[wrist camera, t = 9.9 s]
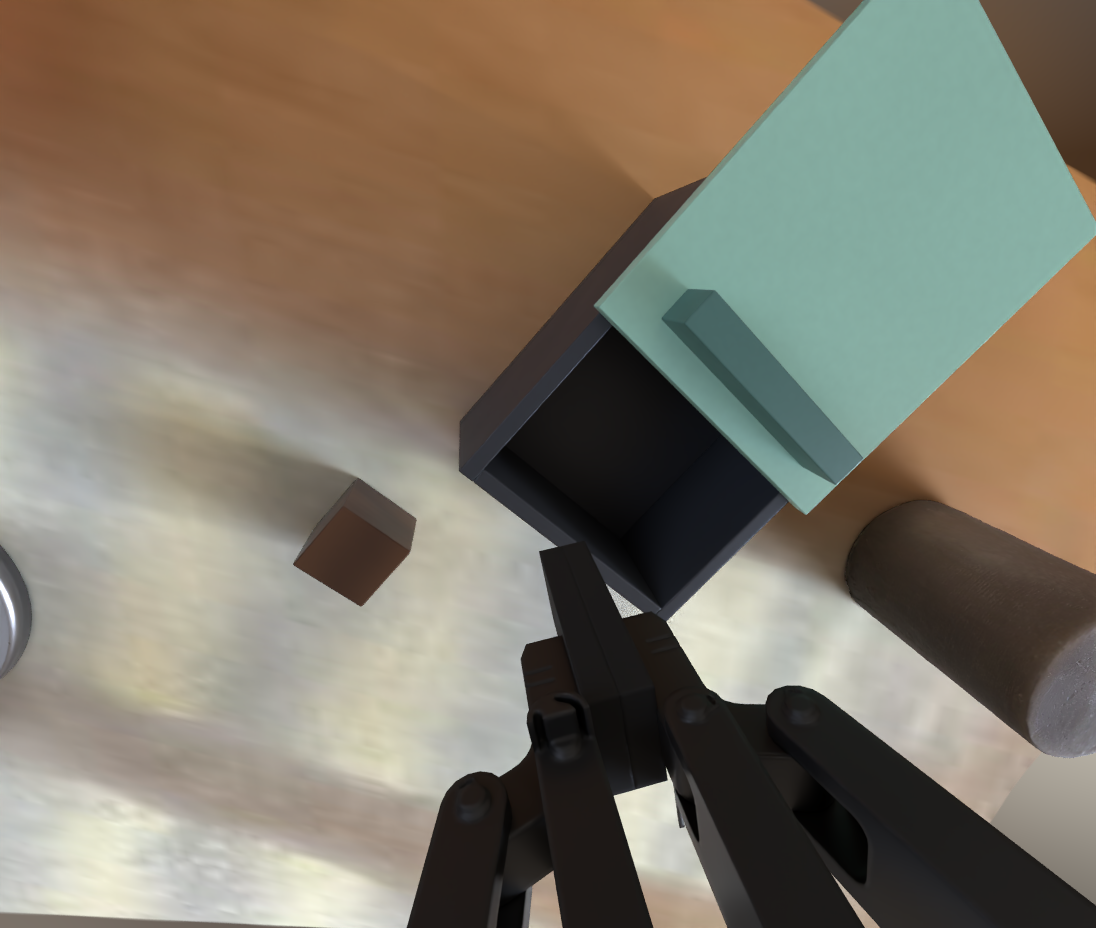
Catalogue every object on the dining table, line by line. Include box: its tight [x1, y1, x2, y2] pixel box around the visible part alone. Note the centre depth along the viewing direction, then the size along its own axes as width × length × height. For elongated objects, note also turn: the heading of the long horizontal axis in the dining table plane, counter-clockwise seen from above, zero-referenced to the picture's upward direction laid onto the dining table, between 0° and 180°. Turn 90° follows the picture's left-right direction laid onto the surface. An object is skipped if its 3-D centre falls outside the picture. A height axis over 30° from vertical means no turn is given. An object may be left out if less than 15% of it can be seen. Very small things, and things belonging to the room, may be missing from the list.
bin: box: [459, 177, 789, 621], centre depth 29 cm, size 14×17×9 cm
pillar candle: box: [845, 500, 1096, 758], centre depth 33 cm, size 10×10×15 cm
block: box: [293, 478, 416, 606], centre depth 31 cm, size 4×4×4 cm
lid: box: [594, 0, 1096, 515], centre depth 22 cm, size 14×17×4 cm
